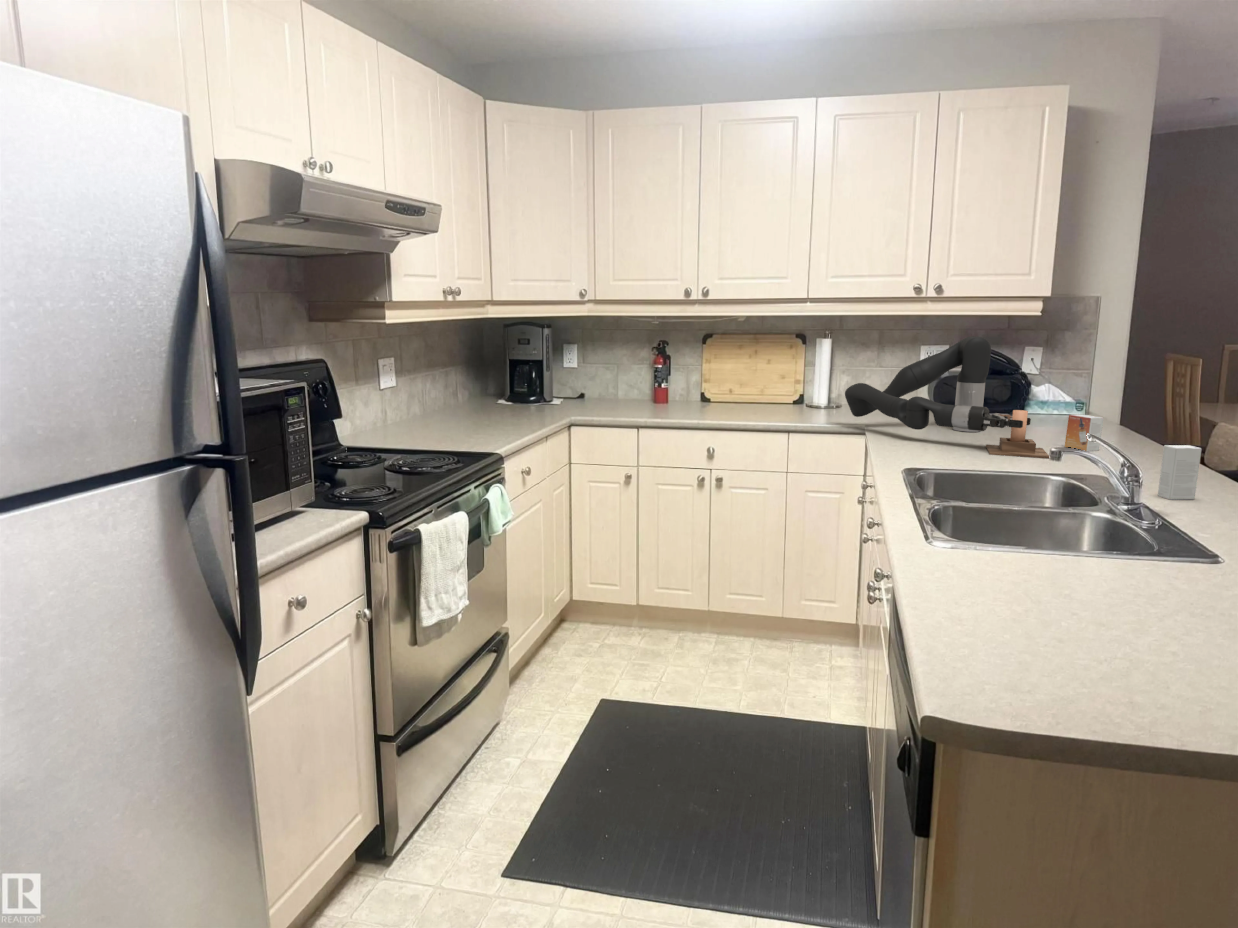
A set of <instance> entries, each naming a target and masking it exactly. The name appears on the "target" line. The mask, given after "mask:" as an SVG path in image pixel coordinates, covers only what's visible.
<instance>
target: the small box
mask: <svg viewBox="0 0 1238 928" xmlns="http://www.w3.org/2000/svg"><path fill="white" fill-rule="evenodd" d="M1067 418H1068V419H1067V425H1066V435H1065V441H1064V448H1068V447H1071V448H1070V449H1073V448H1077V449H1081V450H1080V451H1082V450H1085V451H1084V452H1099V451H1100V447H1101V443H1100V444H1098V443H1094V442H1091V441H1089V440H1088V439H1087V436H1086V435H1087V433H1091V434H1094V435H1096V436H1097V437H1099V438H1102V431H1103V426H1104V424H1103V423H1104V417H1102V416H1093V415H1088V414H1081V413H1080V414H1079V413H1078V414H1077V413H1076V414H1069V415H1068V417H1067ZM1077 449H1076V450H1077Z"/></svg>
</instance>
